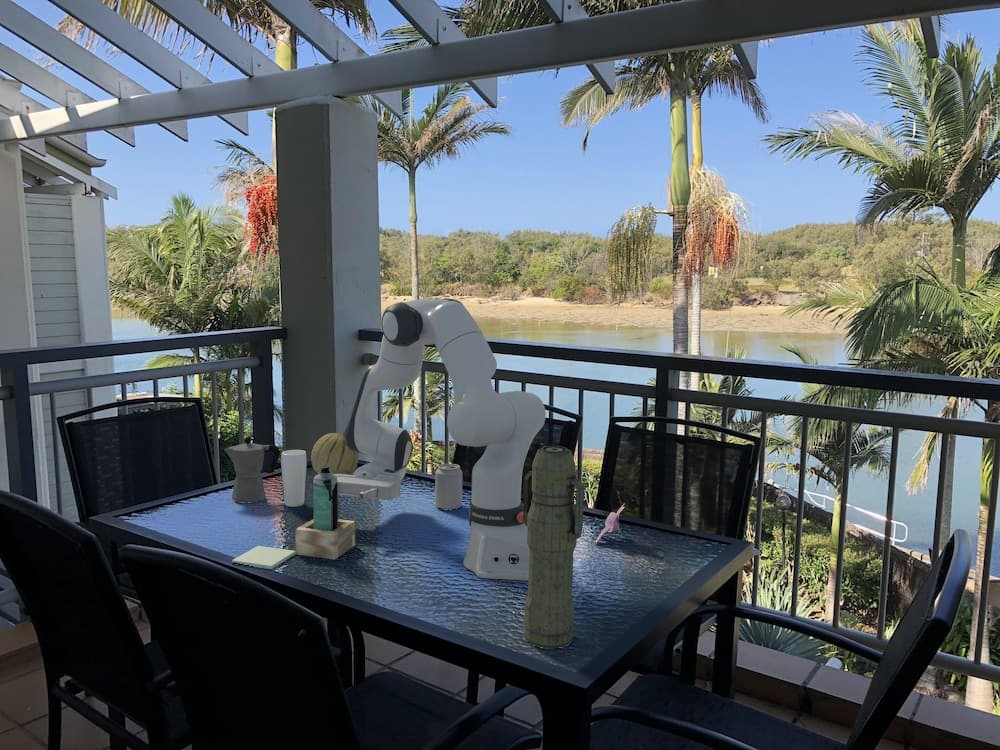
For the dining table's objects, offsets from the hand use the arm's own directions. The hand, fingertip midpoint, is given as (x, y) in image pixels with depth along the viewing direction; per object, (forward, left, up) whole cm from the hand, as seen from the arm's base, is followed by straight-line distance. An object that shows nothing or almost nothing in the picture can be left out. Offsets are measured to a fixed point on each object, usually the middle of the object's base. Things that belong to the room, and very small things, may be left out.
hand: (344, 494), depth 193 cm
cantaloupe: (+29, -49, -11) cm, 58 cm away
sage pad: (+10, +19, -11) cm, 24 cm away
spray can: (0, +9, -11) cm, 14 cm away
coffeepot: (+40, -21, -11) cm, 47 cm away
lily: (-63, -21, -11) cm, 67 cm away
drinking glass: (+26, -20, -11) cm, 35 cm away
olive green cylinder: (-60, +36, -11) cm, 71 cm away
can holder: (0, +9, -11) cm, 14 cm away
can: (-15, -33, -11) cm, 38 cm away
